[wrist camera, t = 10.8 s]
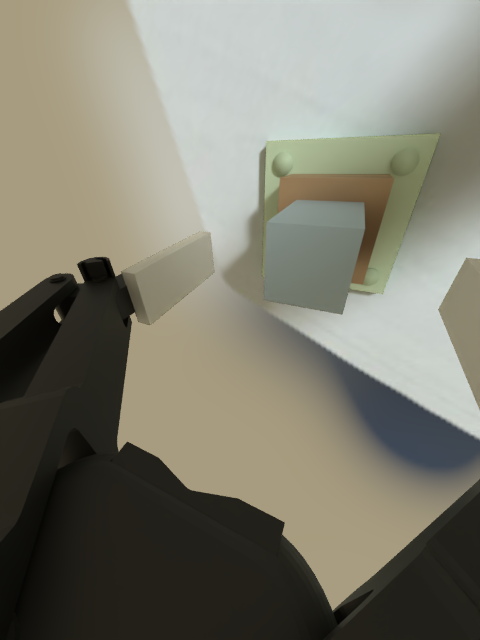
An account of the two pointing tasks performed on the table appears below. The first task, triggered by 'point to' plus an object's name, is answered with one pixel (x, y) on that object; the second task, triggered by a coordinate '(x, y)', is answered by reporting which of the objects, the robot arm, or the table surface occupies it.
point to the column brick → (313, 253)
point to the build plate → (358, 158)
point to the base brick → (347, 190)
